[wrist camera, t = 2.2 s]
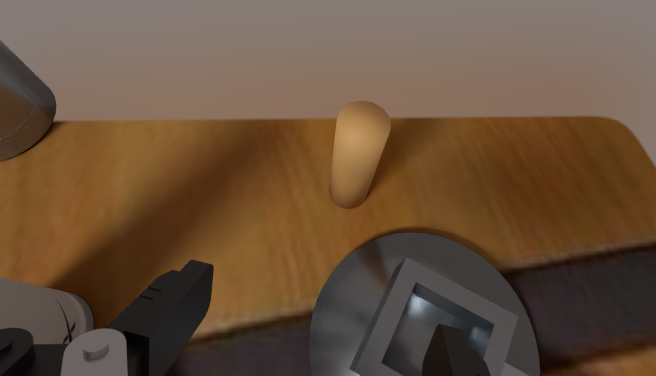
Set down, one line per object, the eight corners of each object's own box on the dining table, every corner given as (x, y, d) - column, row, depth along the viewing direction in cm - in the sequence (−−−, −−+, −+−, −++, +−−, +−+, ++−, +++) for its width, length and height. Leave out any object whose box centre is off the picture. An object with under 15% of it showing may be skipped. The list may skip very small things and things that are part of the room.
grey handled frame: (265, 395, 24) (256, 404, 20) (369, 201, 30) (377, 181, 26) (593, 606, 20) (655, 664, 16) (635, 337, 26) (688, 336, 22)
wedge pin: (322, 197, 30) (326, 131, 20) (340, 168, 31) (351, 93, 22) (356, 215, 29) (376, 155, 20) (373, 184, 30) (399, 115, 21)
